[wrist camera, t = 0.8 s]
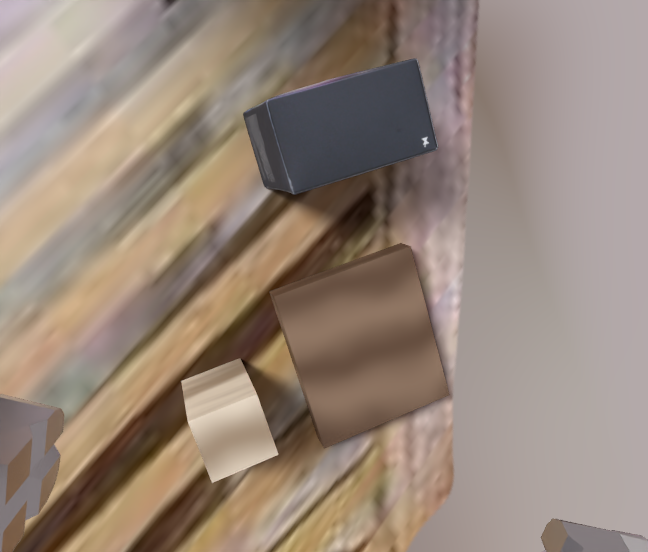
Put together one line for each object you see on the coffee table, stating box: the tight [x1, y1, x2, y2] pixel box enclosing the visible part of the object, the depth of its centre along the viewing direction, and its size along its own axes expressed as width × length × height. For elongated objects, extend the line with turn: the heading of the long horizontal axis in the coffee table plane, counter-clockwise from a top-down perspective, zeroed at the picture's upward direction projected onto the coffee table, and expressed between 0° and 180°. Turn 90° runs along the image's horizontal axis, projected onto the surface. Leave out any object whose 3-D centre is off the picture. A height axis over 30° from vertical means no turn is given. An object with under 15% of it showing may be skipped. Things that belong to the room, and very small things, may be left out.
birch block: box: [181, 359, 279, 483], centre depth 47 cm, size 5×5×8 cm
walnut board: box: [269, 243, 449, 448], centre depth 52 cm, size 14×12×2 cm
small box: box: [243, 59, 438, 195], centre depth 44 cm, size 11×6×10 cm, turn 106°
